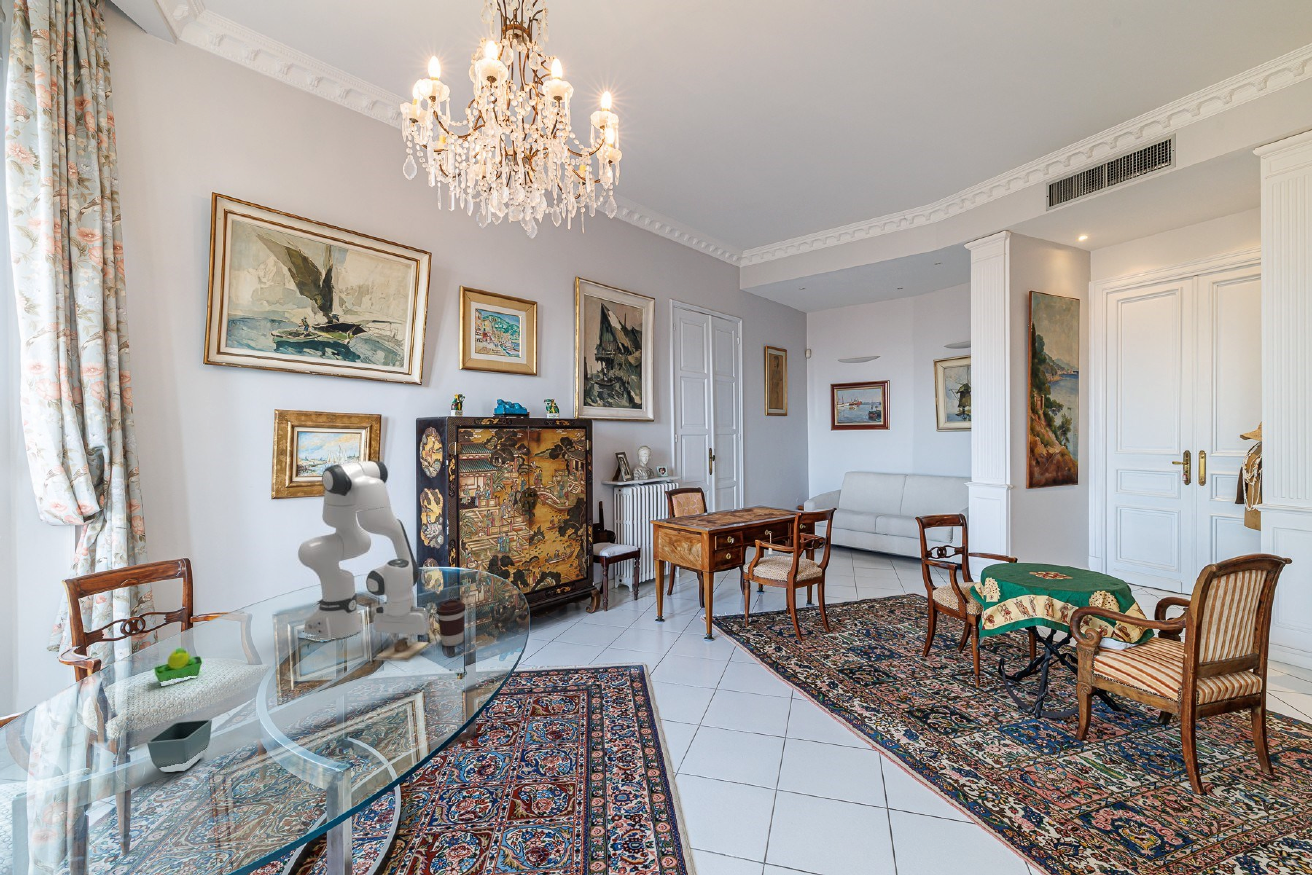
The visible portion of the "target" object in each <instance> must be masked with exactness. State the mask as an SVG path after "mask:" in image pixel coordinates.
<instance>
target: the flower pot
mask: <svg viewBox="0 0 1312 875" xmlns="http://www.w3.org/2000/svg"><path fill="white" fill-rule="evenodd" d="M212 723H213V719H198V720H188V721H187V720H185V721H175V722H174V723H172V724H171V725H169V726H168V727H166V728H165V729H164V730H162V731H161V732H159V733H158V734H156V735H155V736H153V737H152V738H151V739H149V740H148V741H147V742H146V744H147V748H148V752H149V756H150V759H151V762H152V763H153V765H154V766H155V767H156V769H158V768H161V767H167V766H171V765H175V764H183V763H186V762H187V761H189V760H190V759H192V758H193V757H194V756H196V755H197V754H198V753H200V752H201V751H203V750H205V749H206V748H208V747H209V745H210V740H211V735H212ZM206 750H207V749H206Z"/></svg>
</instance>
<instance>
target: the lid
mask: <svg viewBox="0 0 1312 875" xmlns="http://www.w3.org/2000/svg"><path fill="white" fill-rule="evenodd" d="M399 639H400V640H399V641H397V642H395V643H394V642H393V644H392V645H390V646H388V647H387V648H386V649H384V650H382V651H381V652H380V653H378V654H376V656H375V657H376V658H380V659H395V660H409V659H410V658H411V657H413V656H414V655H416V654H417V653H419V652H420V651H421V650H423V649H424V648H426V647H427V646H429V644H430V643H429V642H428V641H427V642H426V641H425V642H424V641H412V644H411V645H410V646H405V641H406V640H408V637H407V636H406V637H405V636H403V637H402V638H399Z"/></svg>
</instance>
